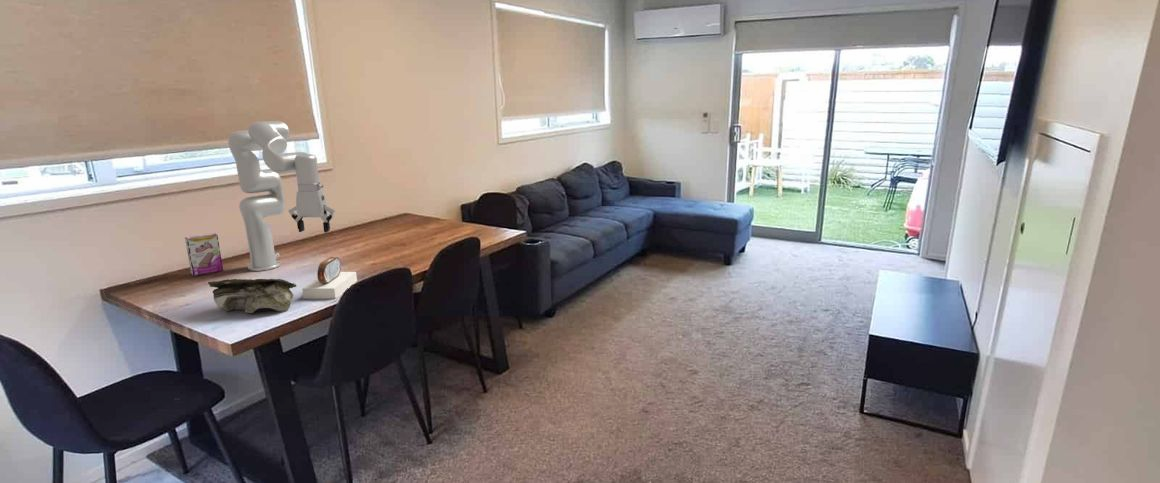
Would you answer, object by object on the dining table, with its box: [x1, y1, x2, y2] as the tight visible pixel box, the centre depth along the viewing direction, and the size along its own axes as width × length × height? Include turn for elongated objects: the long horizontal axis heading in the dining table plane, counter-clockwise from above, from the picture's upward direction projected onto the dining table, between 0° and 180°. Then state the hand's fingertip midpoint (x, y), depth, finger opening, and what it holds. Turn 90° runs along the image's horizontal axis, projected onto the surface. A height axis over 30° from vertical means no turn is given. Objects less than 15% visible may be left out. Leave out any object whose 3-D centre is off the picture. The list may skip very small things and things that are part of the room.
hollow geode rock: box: [207, 278, 298, 314], centre depth 193 cm, size 28×13×15 cm
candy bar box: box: [184, 232, 224, 277], centre depth 234 cm, size 11×5×16 cm, turn 135°
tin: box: [316, 256, 342, 283], centre depth 213 cm, size 15×3×8 cm, turn 179°
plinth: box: [302, 271, 358, 300], centre depth 215 cm, size 20×12×4 cm, turn 179°
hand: (314, 231), depth 212 cm, fingers open, 9 cm apart
